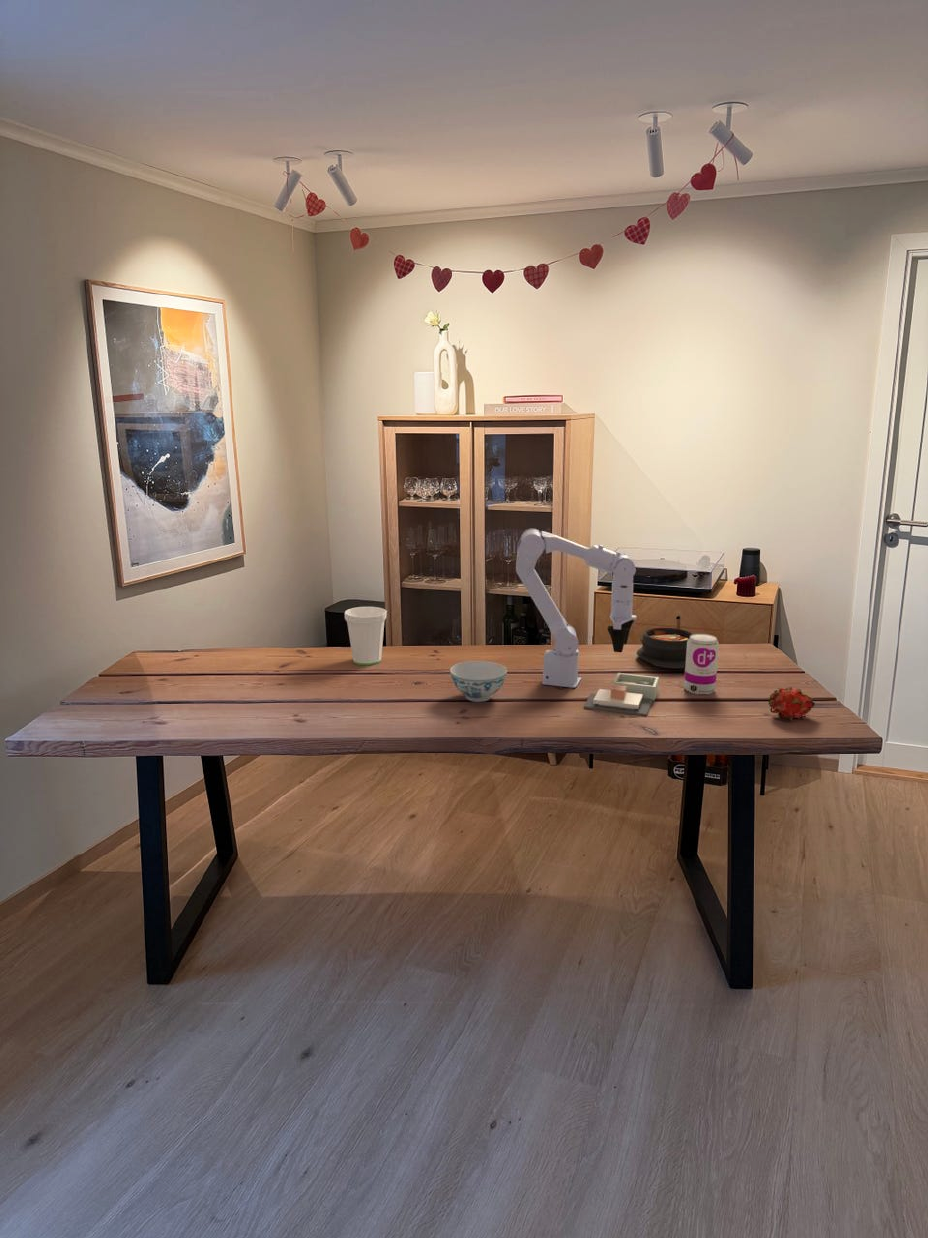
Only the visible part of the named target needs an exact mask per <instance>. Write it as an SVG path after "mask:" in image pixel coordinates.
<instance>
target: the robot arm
mask: <svg viewBox="0 0 928 1238" xmlns="http://www.w3.org/2000/svg"><path fill="white" fill-rule="evenodd" d="M544 550H545V551H544ZM555 551H556V552H560V553H564V554H566V555H570V556H573V557H576V558H579V559H582V560H584V562H585V564H586V566H588V567H591V568H593V569H596V570H600V571H603V572H605V573H607V574H610V573H612V582H611V603H610V616H609V619H610V621H612V625H608V626H607V632H608V633H609V634H608V635H610V640H611V643H612V644H611V645H612V650H613V652H614V653H622V652H623V650H624V645H627V643H628V640H629V636H630V630H631V627H632V625H633V624H634V621H636V620H637V618H638V617H637V615H634V614H633V606H634V604H633V602H634V601H633V600H634V576H635V574H636V571H637V569H636V565H635V563H634V561H633V560H632V558H631V557H630V556H628V555H627V554H625V553H622V552H620V551H618V550H617V551H616V552H614V551H612V550H610V549H607V548H605V546H604V545H602V544H598V545H596V544H594V545H591V546H589V547H587V546H584V545H582V544H579V543H577V542H575V541H571V540H569V539H567V538H564V537H561V536H560V535H556V534H553V533H551V532H547V531H545V530H544V531H543V530H541V531H540V530H539V529H536V528H528V529H525V530H524V531H523V532H522V534H521V535H520V538H519V541H518V543H517V552H516V553H517V554H516V563H515V572H516V574H517V575H518V577H519V579H520V581H521V583H522V584H523V585H524V588H525V589H526V591H527V592H528V594H529V596H530V598H531V600H532V601H533V603H534V605H535V607H536V608H537V610H538V611H539V613H540V614H541V616H542V618H543V619H544V621H545V623H546V625H547V626H548V628H549V631H550V633H551V635H552V637H553V639H554V647H553V648H552V649H546V650H545V652H544V654H543V663H542V682H541V684H542V685H544V686H545V685H547V686H555V687H563V688H564V687H565V688H572V689H573V688H574V689H575V688H577V687H578V685H579V684H580V682H581V680H582V677H581V676H580V677H579V675H578V674H579V649H578V648H579V640H578V636H577V630H576V629H575V628H574V627H573V625H570V624H569V623H568V622H567V620H566V619H565V618H564V616H563V615H562V613H561V612H560V609H559V608H558V607H557V605H556V603H555V601H554V600H553V598H552V596H551V595H550V593H549V591H548V589H547V588H546V586H545V584H544V582H543V581H542V579H541V577H540V576H539V574H538V572H537V571H536V569H535V567H536V565H537V562H538V559H539V558H540V556H541V555H542V554H543V553H544V552H545V554H550V553H553V552H555Z"/></svg>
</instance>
